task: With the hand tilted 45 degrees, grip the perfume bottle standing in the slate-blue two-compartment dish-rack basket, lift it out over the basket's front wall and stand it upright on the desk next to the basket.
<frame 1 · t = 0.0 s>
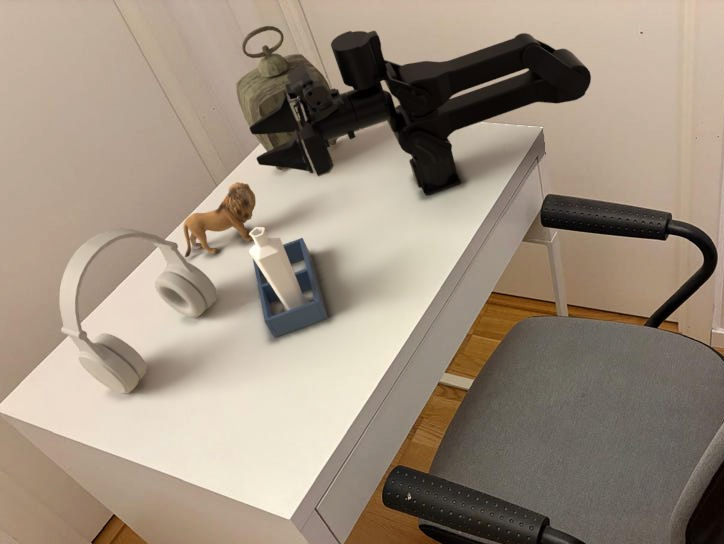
hand: (253, 145, 110), 17 cm above the table, tool horizontal, fingers open, 9 cm apart
rack basket: (293, 294, 112), on the table
headphones: (166, 345, 110), on the table
lion figurine: (231, 240, 124), on the table
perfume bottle: (297, 311, 110), resting in rack basket
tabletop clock: (313, 164, 135), on the table
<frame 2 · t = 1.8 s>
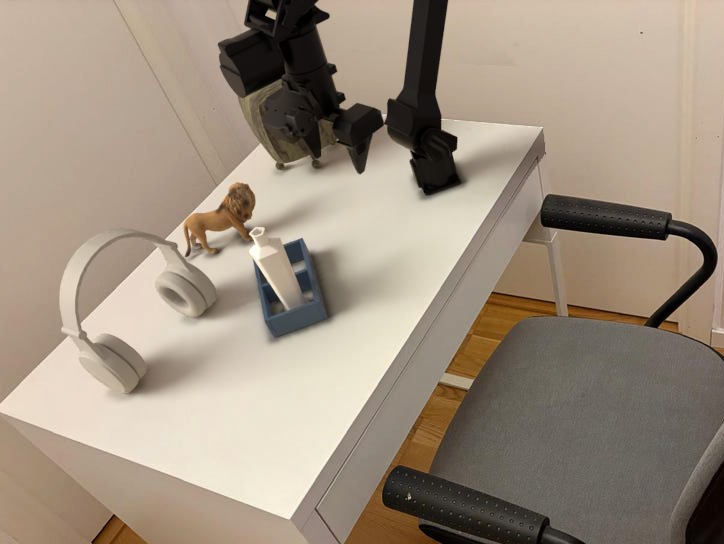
hand: (339, 165, 110), 13 cm above the table, tool pointing down, fingers open, 9 cm apart
nothing on the table moved.
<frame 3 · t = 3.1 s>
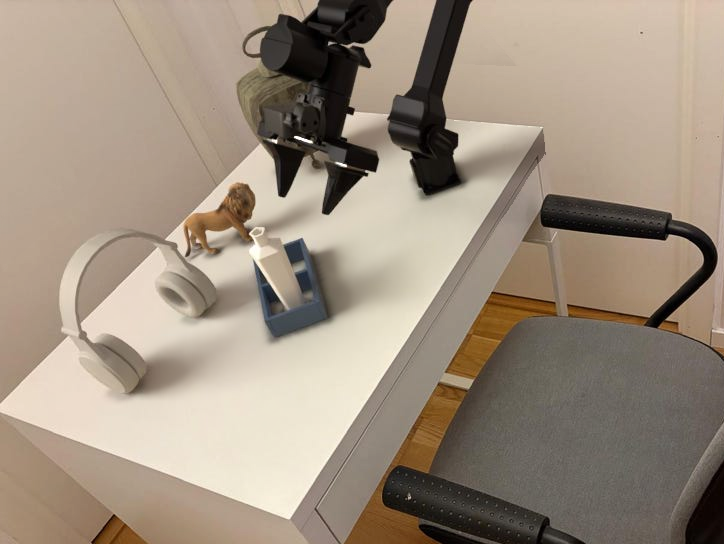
hand: (302, 205, 103), 13 cm above the table, tool tilted 45°, fingers open, 9 cm apart
nothing on the table moved.
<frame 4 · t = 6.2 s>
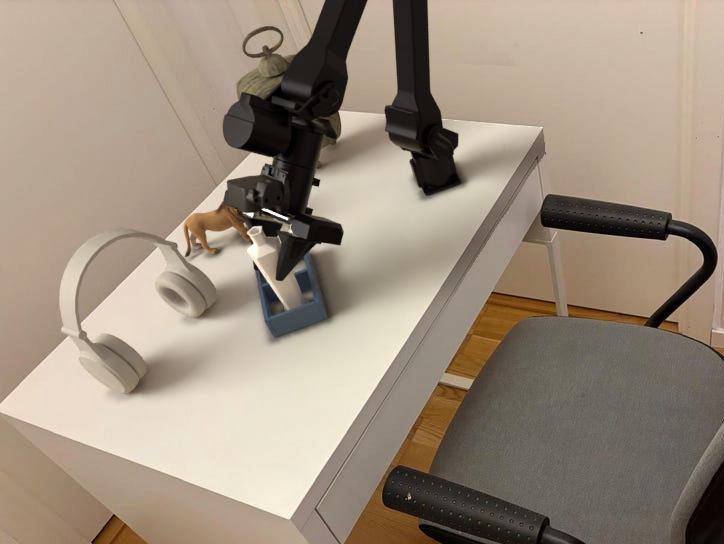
hand: (267, 275, 103), 8 cm above the table, tool tilted 45°, fingers closed on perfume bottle, 4 cm apart
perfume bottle: (297, 310, 110), resting in rack basket, touching gripper
everything else where it was.
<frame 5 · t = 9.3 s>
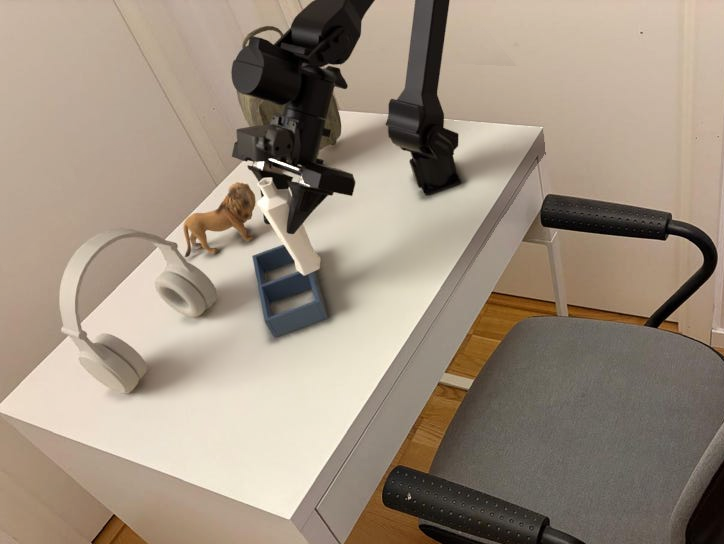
hand: (278, 228, 101), 13 cm above the table, tool tilted 45°, fingers closed on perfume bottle, 4 cm apart
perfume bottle: (308, 267, 108), point 5 cm above the table, touching gripper
everything else where it was.
when the fingers open (8 cm above the table, at t = 12.4 s): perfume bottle stays where it is, on the table.
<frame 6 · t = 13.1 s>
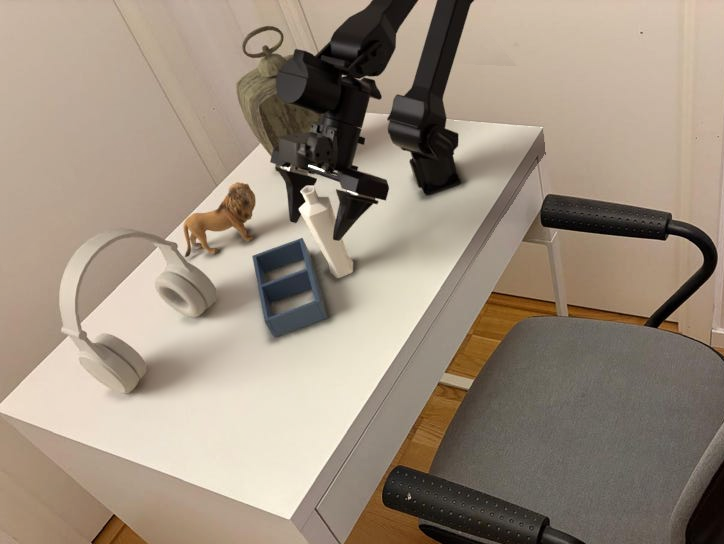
hand: (314, 231, 107), 9 cm above the table, tool tilted 45°, fingers open, 9 cm apart
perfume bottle: (341, 270, 114), on the table
everything else where it was.
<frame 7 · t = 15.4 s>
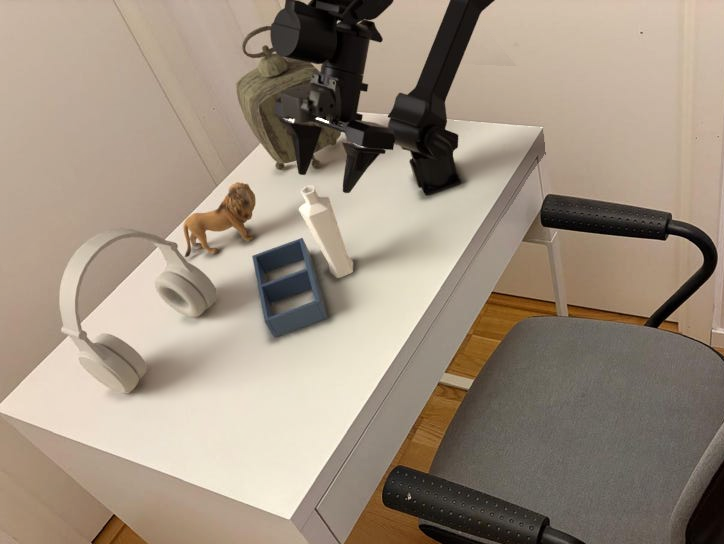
hand: (323, 183, 106), 13 cm above the table, tool tilted 35°, fingers open, 9 cm apart
nothing on the table moved.
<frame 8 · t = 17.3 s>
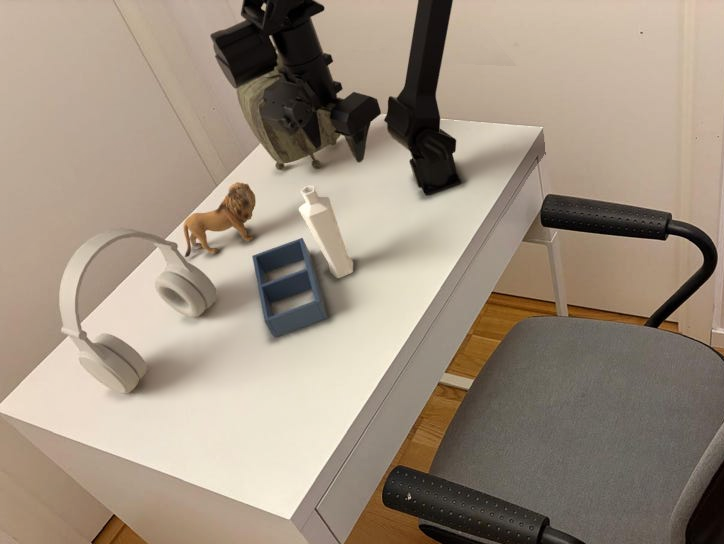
hand: (339, 153, 111), 13 cm above the table, tool pointing down, fingers open, 9 cm apart
nothing on the table moved.
at the end: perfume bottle inside the target area (0.2 cm from its centre), on the table; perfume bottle tilted 0°; the gripper is holding nothing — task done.
